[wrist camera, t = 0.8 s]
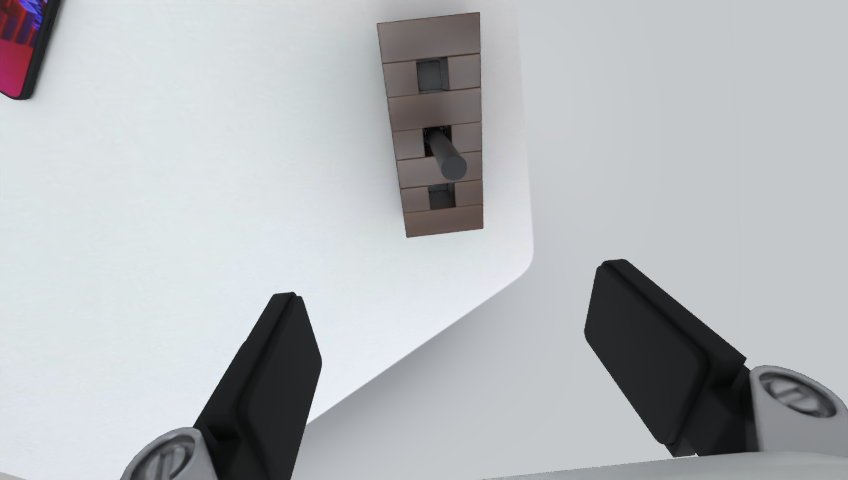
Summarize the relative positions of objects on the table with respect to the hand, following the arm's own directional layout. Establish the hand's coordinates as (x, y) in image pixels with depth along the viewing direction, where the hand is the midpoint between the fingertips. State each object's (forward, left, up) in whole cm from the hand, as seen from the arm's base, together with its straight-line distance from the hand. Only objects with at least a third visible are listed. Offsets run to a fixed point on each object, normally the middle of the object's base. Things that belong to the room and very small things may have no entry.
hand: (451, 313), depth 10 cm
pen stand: (-2, +2, -24) cm, 24 cm away
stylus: (-2, +2, -24) cm, 24 cm away
